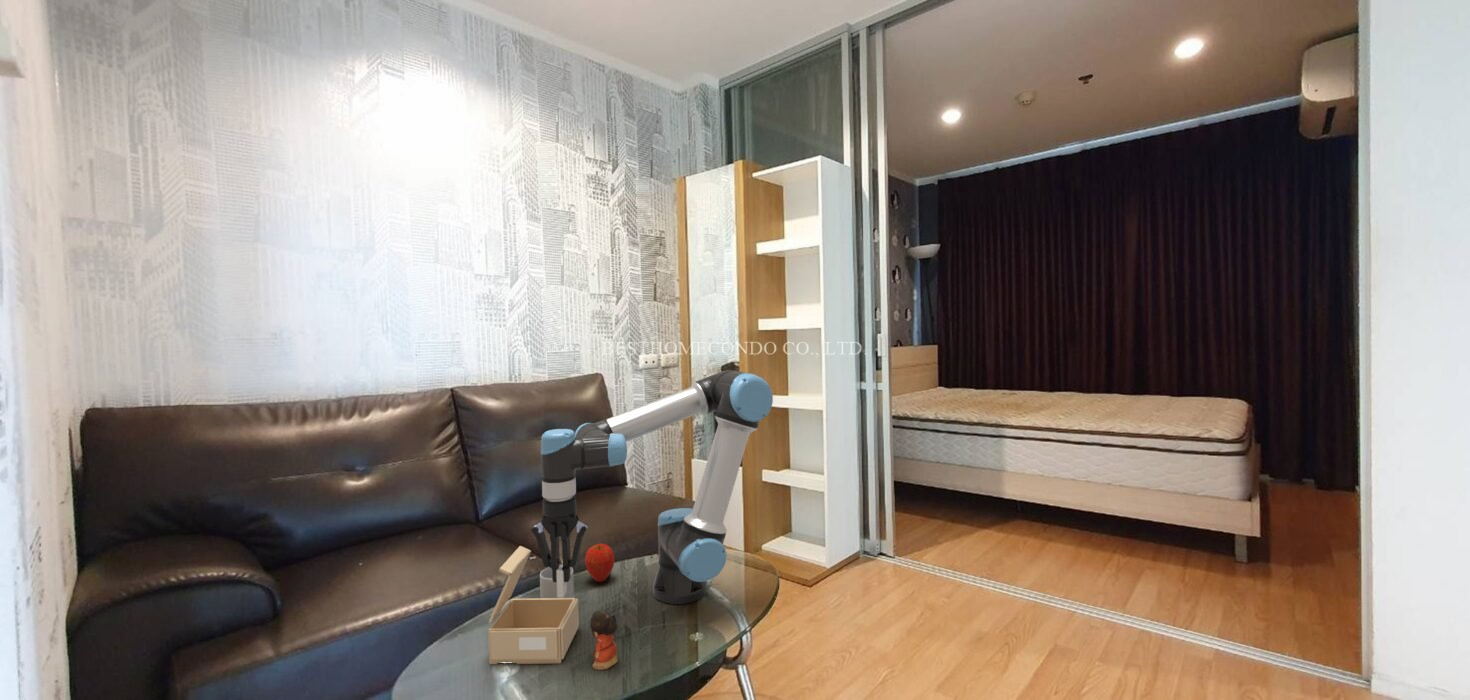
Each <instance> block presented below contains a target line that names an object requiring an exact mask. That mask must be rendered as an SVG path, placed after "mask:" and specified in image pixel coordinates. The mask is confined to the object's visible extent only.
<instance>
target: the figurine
mask: <svg viewBox="0 0 1470 700" xmlns="http://www.w3.org/2000/svg"><path fill="white" fill-rule="evenodd" d="M589 621H590V622H589V627H590V629H591V632H592V636H593V637H594V638H595V639H596V643H595V648H594V649H595V651H593V655H594V656H593V657H594V662H593V664H592V665H591V668H593V669H595V670H607V669H609V668H611V667H612V666H615V664H617V663H618V660H619V659H618V655H617V653H618V647H617V644H616V643H615V641H614V640H615V639H614V638H615V637H614V636H613V634H614V633H615V632H616V631H617V630H618V624H617V618H616V615H611V614H610V613H608V611H605V610H596V611H594V612H593V613H592V615H591V618H590V620H589Z"/></svg>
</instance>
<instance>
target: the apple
mask: <svg viewBox="0 0 1470 700" xmlns="http://www.w3.org/2000/svg"><path fill="white" fill-rule="evenodd" d="M614 565H615V554H614V551H613V550H612V548H611V547H610V546H609V545H608V544H606V543H597V544H594V545H593V546H591V547H589V548H588V549H587V551H586V553H585V556H584V566H585V568H586V570H587V572H588V574H589V575H590V577H592V579H594V581H596V582H598V583H603V582H605V581H606V580H607V578H608V577H609V575H610V573H611V572H612V570H613V569H614V568H613V567H614Z"/></svg>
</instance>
